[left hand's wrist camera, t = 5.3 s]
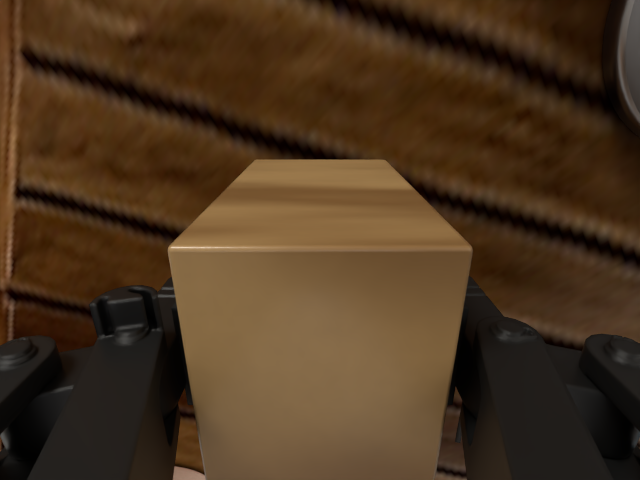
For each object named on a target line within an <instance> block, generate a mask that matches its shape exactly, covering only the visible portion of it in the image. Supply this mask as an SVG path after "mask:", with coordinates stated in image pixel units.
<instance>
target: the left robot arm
mask: <svg viewBox="0 0 640 480" xmlns="http://www.w3.org/2000/svg"><path fill="white" fill-rule="evenodd" d="M602 66H603V76H604V81H605V86H606V90H607V93H608V96H609V99H610V101H611V103H612V105H613V107H614V110H615V111H616V113H617V114H618V116H619V117H620V119H621V120H622V121H623V122H624V124H625V125H626V126H627V127H628V128H629V129H630V130H631V131H632V132H633V133H635V134H636V135H637V136H639V137H640V0H612V2H611V5H610V9H609V13H608V16H607V20H606V25H605V31H604V36H603V48H602ZM89 306H90V310H91V314H92V318H93V321H94V325H95V329H96V333H97V336H98V339H97V341H96V343H95V345H94V346H91V347H86V348H81V349H76V350H71V351H65V352H60V353H59V352H58V349H57V346H56V343H55V341H54V340H53V339H52V338H50V337H47V336H30V337H22V338H19V339H14V340H11V341H8V342H7V343H5V344H3V345H1V346H0V437H1V439H2V441H3V444H4V446H5V447H4V448H3V449H2V451H1V452H0V480H173V475H174V467H175V458H176V450H177V442H178V434H179V425H180V412H179V407H178V401H179V399H180V397H181V394H182V392H183V390H184V388H185V391H186V396H187V402H188V405H193V400H192V394H191V388H190V382H189V376H188V370H187V364H186V358H185V352H184V346H183V340H182V334H181V328H180V322H179V316H178V310H177V304H176V298H175V292H174V286H173V280H172V277H171V278H169V279H168V280H167V282H166V283H165V284H164V285H163V287H162V288H161V290H159V291H158V293H157V291H156V290H155V289H153V288H152V287H148V286H143V285H137V286H126V287H121V288H117V289H114V290H111V291H108V292H105V293H104V294H102V295H100V296H98V297H96V298H95V299H94V300H93V301H92V302H91V303H90V304H89ZM455 386H456V388H457V390H458V392H459V394H460V396H461V398H462V407H461V412H460V417H459V423H458V428H457V433H456V440H455V442H458V443H460V441H461V436H462V441H463V449H464V457H465V466H466V474H467V480H640V449H639V448H638V447H637V446H636V444H637V442H638V440H639V438H640V343H637V342H635V341H634V340H632V339H629V338H626V337H624V338H623V337H622V336H618V335H608V334H597V335H591V336H590V337H588V338H587V339H586V340H585V344H584V347H583V350H582V351H578V350H573V349H568V348H563V347H557V346H552V345H548V344H545V342H544V340H543V338H542V337H541V335H540V334H539V333H538V332H537V331H536V330H535V329H534V328H532V327H531V326H529V325H528V324H526V323H523V322H521V321H518V320H516V319H512V318H508V317H504V316H503V315H502V314H501V312H500V311H499V310H498V309H497V308H496V306H495V305H494V304H493V303H492V302H491V300H490V299H489V298H488V297H487V296H485V293H484V292H483V291H482V290H481V288H479V286H478V285H477V283H476V282H475V281H474V280H473V279H472V278H471V277H470V276H469V277H468V283H467V289H466V295H465V301H464V307H463V313H462V319H461V325H460V331H459V337H458V343H457V349H456V355H455V361H454V367H453V373H452V379H451V385H450V391H449V397H448V403H447V405H452V404H453V398H454V392H455Z"/></svg>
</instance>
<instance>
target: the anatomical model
mask: <svg viewBox="0 0 640 480" xmlns="http://www.w3.org/2000/svg"><path fill="white" fill-rule="evenodd" d="M173 480H206V478H205V475H204V474H202V473H200V472H197V471H194V470H191V469H187V468H182V467H177V466H175V467H174V475H173Z"/></svg>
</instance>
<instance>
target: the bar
mask: <svg viewBox="0 0 640 480" xmlns="http://www.w3.org/2000/svg"><path fill="white" fill-rule="evenodd" d="M472 253H473V249H472V246H471V245H470V244H469V243H468V242H467V241H466V240H465V239H464V238H463V237H462V236H461V235H460V234H459V233H458V232H457V231H456V230H455V229H454V228H453V227H452V226H451V225H450V224H449V223H448V222H447V221H446V220H445V219H444V218H443V217H442V216H441V215H440V214H439V213H438V212H437V211H436V210H435V209H434V208H433V207H432V206H431V205H430V204H429V203H428V202H427V201H426V200H425V199H424V198H423V197H422V196H421V195H420V194H419V193H418V192H417V191H416V190H415V189H414V188H413V187H412V186H411V185H410V184H409V183H408V182H407V181H406V180H405V179H404V178H403V177H402V176H401V175H400V174H399V173H398V172H397V171H396V170H395V169H394V168H393V167H392V166H391V165H390V164H389V163H388V162H387V161H386V160H254V161H253V162H252V163H251V164H250V165H249V166H248V167H247V168H246V169H245V170H244V171H243V172H242V173H241V174H240V175H239V176H238V177H237V178H236V179H235V180H234V181H233V182H232V183H231V184H230V185H229V186H228V187H227V188H226V189H225V191H224V192H223V193H222V194H221V195H220V196H219V197H218V198H217V199H216V200H215V201H214V202H213V203H212V204H211V205H210V206H209V207H208V208H207V209H206V210H205V211H204V212H203V213H202V214H201V215H200V216H199V217H198V218H197V219H196V220H195V221H194V222H193V223H192V224H191V225H190V226H189V227H188V228H187V229H186V230H185V231H184V232H183V233H182V234H181V235H180V236H179V237H178V238H177V239H176V240H175V241H174V242H173V243H172V244H171V245H170V246H169V248H168V255H169V261H170V267H171V274H172V280H173V286H174V292H175V298H176V304H177V310H178V316H179V322H180V328H181V334H182V340H183V346H184V352H185V358H186V364H187V370H188V376H189V382H190V388H191V394H192V400H193V406H194V412H195V418H196V424H197V430H198V436H199V442H200V448H201V454H202V460H203V466H204V472H205V478H206V480H435V475H436V469H437V463H438V457H439V451H440V445H441V439H442V433H443V427H444V421H445V415H446V409H447V403H448V397H449V391H450V385H451V379H452V373H453V367H454V361H455V355H456V349H457V343H458V337H459V331H460V325H461V319H462V313H463V307H464V301H465V295H466V289H467V283H468V277H469V271H470V265H471V259H472Z"/></svg>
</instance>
